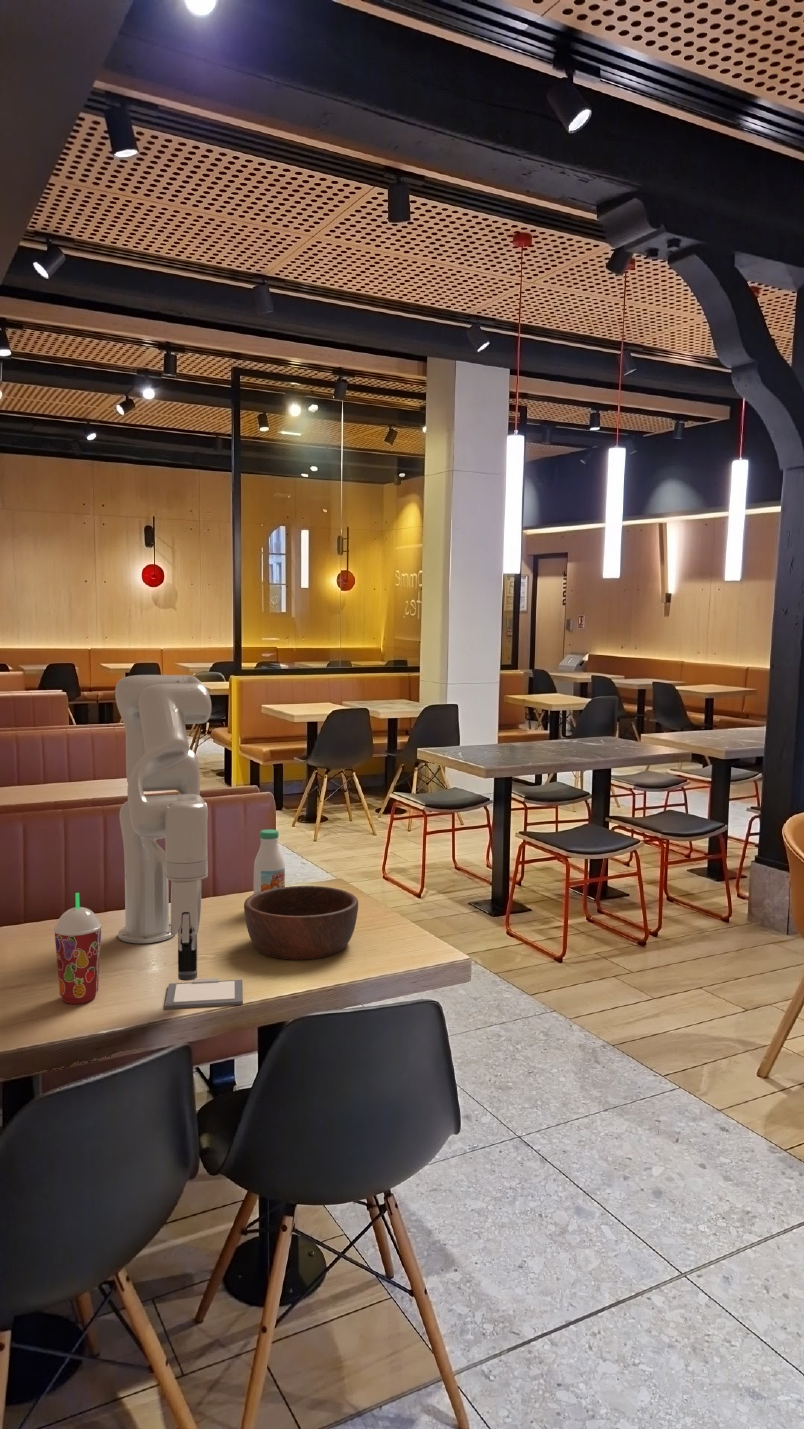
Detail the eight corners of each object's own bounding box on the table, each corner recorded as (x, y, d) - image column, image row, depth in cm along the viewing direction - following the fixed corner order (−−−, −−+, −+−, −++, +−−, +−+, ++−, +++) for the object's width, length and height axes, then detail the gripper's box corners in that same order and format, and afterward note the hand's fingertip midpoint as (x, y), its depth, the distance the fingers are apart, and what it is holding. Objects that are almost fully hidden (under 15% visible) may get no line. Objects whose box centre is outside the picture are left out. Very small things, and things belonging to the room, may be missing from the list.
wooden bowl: (342, 924, 217) (342, 881, 216) (371, 959, 194) (371, 911, 193) (236, 933, 210) (236, 889, 209) (253, 970, 186) (253, 921, 185)
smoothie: (108, 989, 175) (106, 887, 173) (95, 1007, 166) (93, 899, 165) (64, 990, 174) (62, 887, 173) (48, 1007, 166) (46, 899, 164)
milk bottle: (249, 913, 225) (249, 833, 223) (259, 904, 232) (259, 827, 231) (279, 915, 224) (279, 834, 222) (288, 906, 231) (288, 828, 230)
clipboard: (168, 986, 177) (168, 980, 177) (242, 982, 179) (242, 976, 179) (164, 1009, 166) (164, 1003, 166) (242, 1004, 168) (242, 998, 168)
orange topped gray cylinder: (177, 974, 170) (177, 918, 169) (197, 973, 170) (197, 917, 170) (177, 981, 166) (177, 924, 166) (197, 980, 167) (197, 923, 166)
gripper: (168, 859, 174) (170, 953, 176) (162, 880, 158) (163, 984, 159) (209, 858, 176) (209, 951, 177) (206, 879, 160) (207, 981, 161)
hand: (187, 966), depth 168 cm, fingers closed on orange topped gray cylinder, 3 cm apart
